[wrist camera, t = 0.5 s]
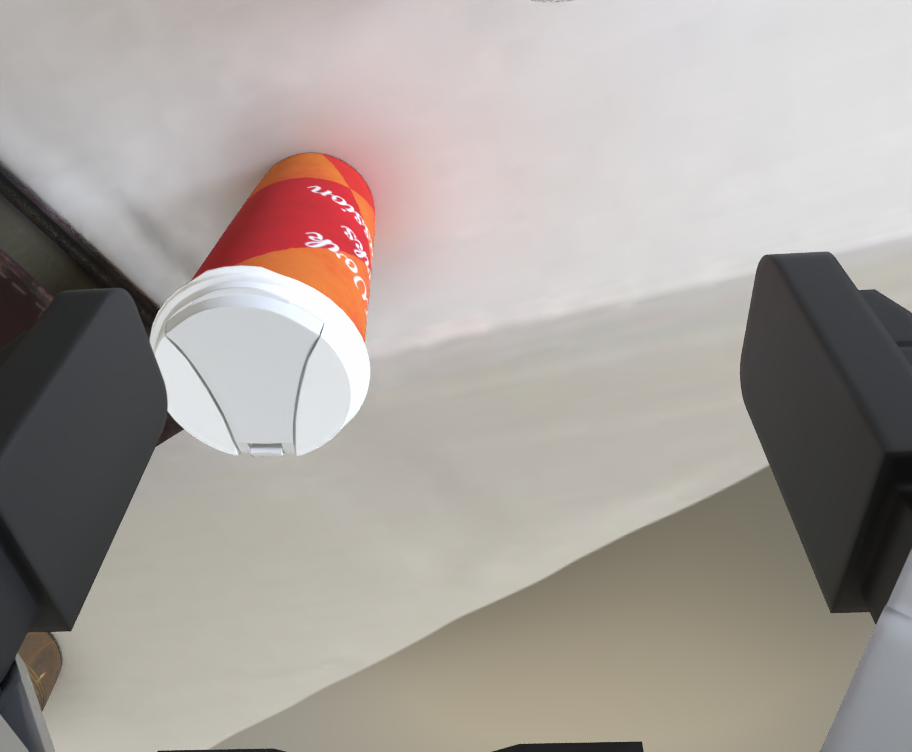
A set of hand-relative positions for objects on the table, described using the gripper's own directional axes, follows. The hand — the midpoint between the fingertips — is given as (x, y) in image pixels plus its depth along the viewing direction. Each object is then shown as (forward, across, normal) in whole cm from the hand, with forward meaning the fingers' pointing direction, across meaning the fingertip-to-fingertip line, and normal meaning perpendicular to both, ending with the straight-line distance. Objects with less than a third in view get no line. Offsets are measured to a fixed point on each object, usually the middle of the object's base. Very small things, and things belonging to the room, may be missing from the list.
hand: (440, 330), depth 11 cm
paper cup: (+27, +8, +11) cm, 30 cm away
